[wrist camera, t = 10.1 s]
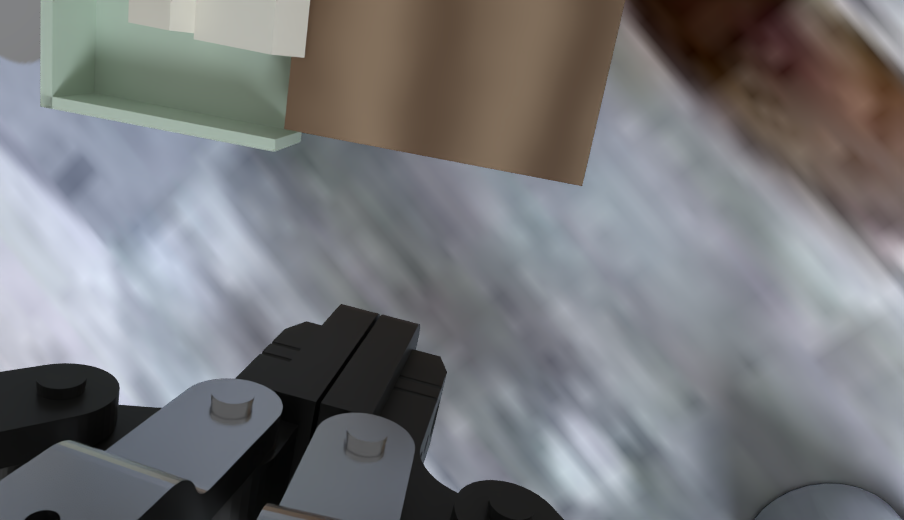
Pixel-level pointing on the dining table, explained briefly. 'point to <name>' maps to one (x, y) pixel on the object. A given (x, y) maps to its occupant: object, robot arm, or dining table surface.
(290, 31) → the tile
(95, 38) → the tray
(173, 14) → the tile
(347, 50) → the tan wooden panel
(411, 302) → the dining table surface
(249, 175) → the dining table surface
